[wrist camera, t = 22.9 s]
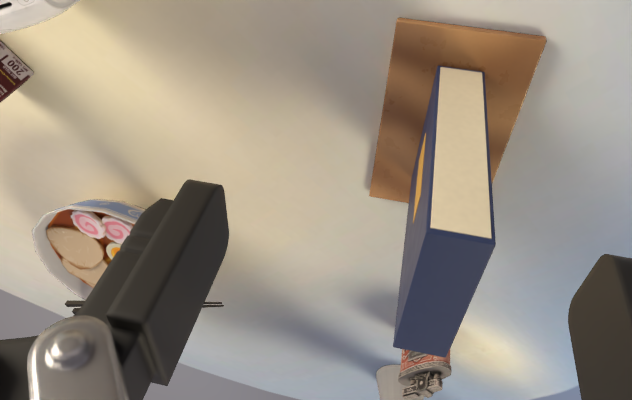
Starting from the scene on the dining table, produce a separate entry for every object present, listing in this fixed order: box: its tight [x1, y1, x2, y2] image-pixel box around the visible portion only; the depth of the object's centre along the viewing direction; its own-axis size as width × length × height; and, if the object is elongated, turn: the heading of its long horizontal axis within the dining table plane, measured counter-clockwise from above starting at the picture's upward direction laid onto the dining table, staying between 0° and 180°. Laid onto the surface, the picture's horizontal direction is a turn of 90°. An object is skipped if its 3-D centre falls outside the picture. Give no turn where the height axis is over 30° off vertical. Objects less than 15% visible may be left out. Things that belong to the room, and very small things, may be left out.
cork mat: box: [369, 18, 546, 203], centre depth 48 cm, size 20×12×1 cm, turn 178°
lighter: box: [398, 349, 451, 400], centre depth 68 cm, size 8×3×10 cm, turn 139°
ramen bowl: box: [32, 199, 224, 314], centre depth 67 cm, size 25×23×8 cm
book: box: [393, 65, 496, 358], centre depth 41 cm, size 20×4×13 cm
